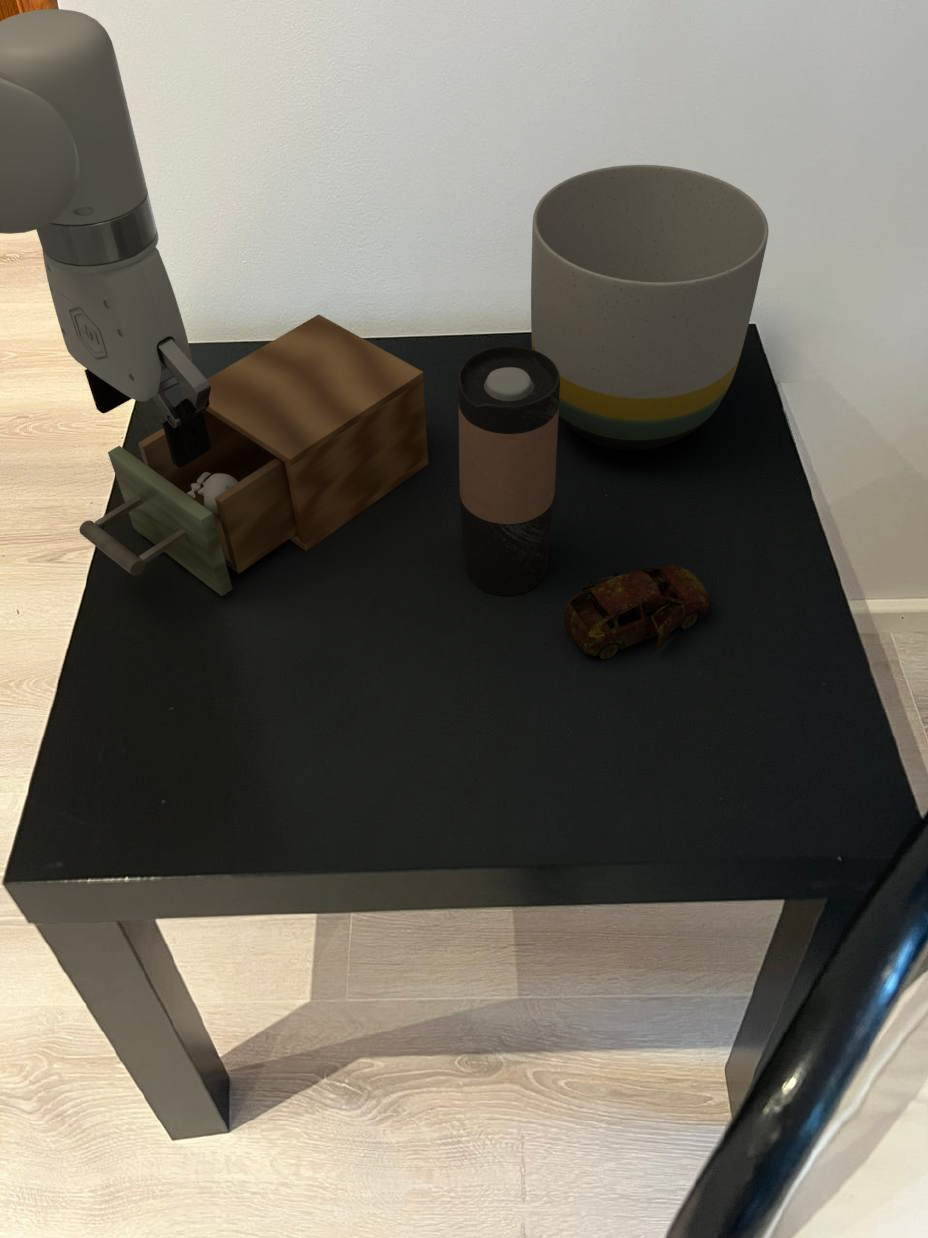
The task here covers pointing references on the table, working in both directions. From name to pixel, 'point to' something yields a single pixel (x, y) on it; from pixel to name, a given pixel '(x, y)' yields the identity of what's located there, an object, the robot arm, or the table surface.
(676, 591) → the toy car
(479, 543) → the travel mug
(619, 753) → the table surface
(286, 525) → the drawer
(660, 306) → the planter
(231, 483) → the rabbit figurine
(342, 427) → the cabinet
